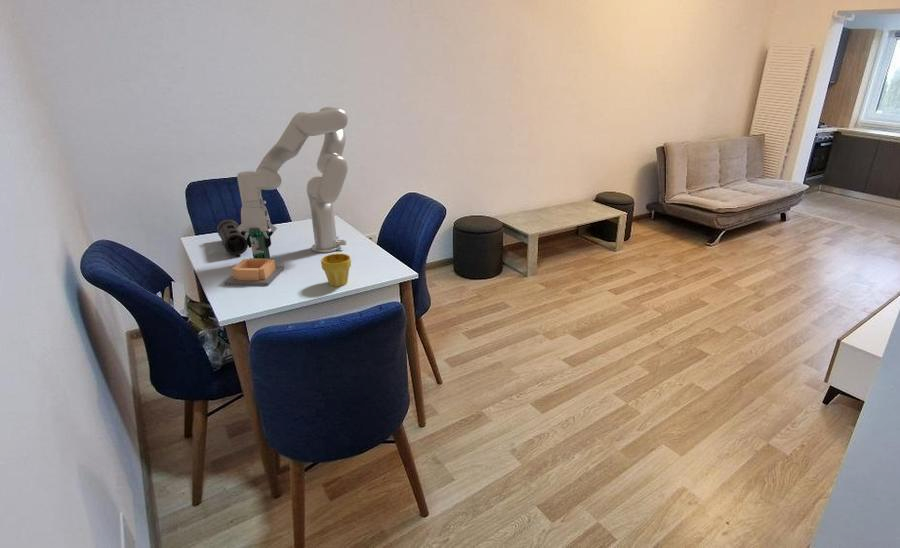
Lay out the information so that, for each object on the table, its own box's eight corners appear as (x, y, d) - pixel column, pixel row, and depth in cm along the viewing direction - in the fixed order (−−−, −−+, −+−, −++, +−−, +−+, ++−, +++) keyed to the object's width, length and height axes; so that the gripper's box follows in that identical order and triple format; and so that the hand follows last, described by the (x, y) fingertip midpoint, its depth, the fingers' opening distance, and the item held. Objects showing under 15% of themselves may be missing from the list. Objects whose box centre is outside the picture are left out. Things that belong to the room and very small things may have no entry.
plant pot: (338, 291, 162) (335, 265, 158) (317, 284, 167) (314, 259, 163) (358, 281, 170) (356, 256, 166) (338, 275, 175) (335, 251, 171)
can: (251, 262, 188) (245, 227, 182) (264, 257, 193) (258, 223, 187) (260, 265, 185) (254, 229, 179) (273, 260, 190) (267, 226, 184)
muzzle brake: (226, 259, 192) (221, 235, 188) (219, 241, 214) (214, 219, 210) (250, 255, 196) (246, 232, 192) (240, 237, 218) (237, 216, 214)
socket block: (284, 269, 181) (282, 256, 179) (268, 285, 166) (265, 272, 164) (244, 268, 182) (242, 256, 180) (224, 285, 167) (222, 272, 165)
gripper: (277, 201, 183) (284, 243, 190) (235, 201, 183) (243, 243, 190) (270, 206, 176) (277, 249, 183) (226, 205, 176) (234, 249, 183)
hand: (259, 246), depth 186 cm, fingers closed on can, 6 cm apart
